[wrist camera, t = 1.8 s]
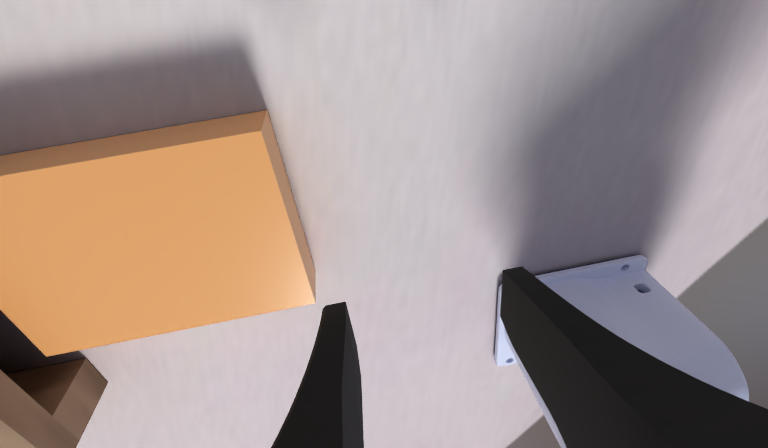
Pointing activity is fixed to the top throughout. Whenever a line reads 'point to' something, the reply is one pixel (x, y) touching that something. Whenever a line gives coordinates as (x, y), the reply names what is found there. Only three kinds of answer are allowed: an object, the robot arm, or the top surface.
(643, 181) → the top surface
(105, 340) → the thin wooden plank
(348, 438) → the robot arm
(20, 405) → the shelf
